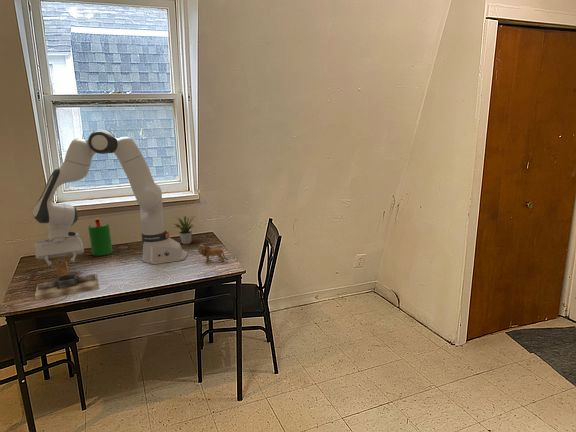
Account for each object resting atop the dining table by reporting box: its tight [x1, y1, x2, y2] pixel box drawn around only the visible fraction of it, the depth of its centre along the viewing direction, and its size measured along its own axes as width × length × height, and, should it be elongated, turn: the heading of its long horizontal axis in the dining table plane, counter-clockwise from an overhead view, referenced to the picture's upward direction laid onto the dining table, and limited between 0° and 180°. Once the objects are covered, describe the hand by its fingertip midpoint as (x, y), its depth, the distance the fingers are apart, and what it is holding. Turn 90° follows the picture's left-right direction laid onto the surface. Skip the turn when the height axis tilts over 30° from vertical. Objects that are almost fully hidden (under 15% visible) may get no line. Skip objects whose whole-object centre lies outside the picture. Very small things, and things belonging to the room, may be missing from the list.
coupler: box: [55, 259, 69, 277], centre depth 197 cm, size 4×4×8 cm
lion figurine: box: [197, 244, 229, 263], centre depth 212 cm, size 15×5×9 cm, turn 92°
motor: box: [87, 217, 113, 257], centre depth 229 cm, size 10×9×20 cm
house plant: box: [172, 214, 196, 245], centre depth 245 cm, size 14×14×16 cm
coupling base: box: [34, 272, 100, 301], centre depth 185 cm, size 24×14×5 cm, turn 116°
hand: (61, 263), depth 198 cm, fingers open, 8 cm apart
